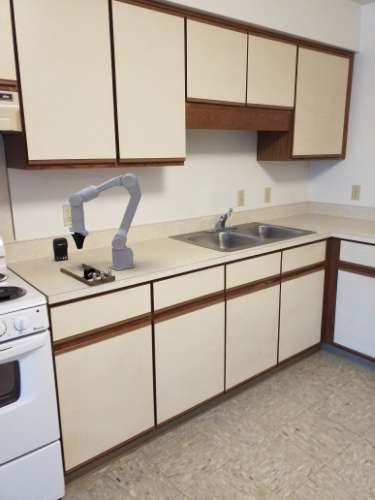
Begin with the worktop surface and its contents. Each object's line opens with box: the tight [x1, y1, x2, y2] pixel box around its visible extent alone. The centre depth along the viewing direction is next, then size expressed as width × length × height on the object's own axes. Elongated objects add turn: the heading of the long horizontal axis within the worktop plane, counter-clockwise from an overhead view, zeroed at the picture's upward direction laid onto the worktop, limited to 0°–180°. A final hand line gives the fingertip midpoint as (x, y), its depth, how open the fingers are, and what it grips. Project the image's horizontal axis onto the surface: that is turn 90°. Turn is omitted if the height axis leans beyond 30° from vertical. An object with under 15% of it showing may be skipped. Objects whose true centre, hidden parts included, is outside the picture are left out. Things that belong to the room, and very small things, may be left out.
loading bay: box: [59, 263, 116, 287], centre depth 173 cm, size 12×29×5 cm, turn 42°
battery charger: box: [52, 236, 69, 262], centre depth 197 cm, size 7×4×11 cm, turn 123°
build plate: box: [81, 266, 101, 281], centre depth 171 cm, size 12×7×5 cm, turn 139°
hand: (79, 248), depth 182 cm, fingers closed
